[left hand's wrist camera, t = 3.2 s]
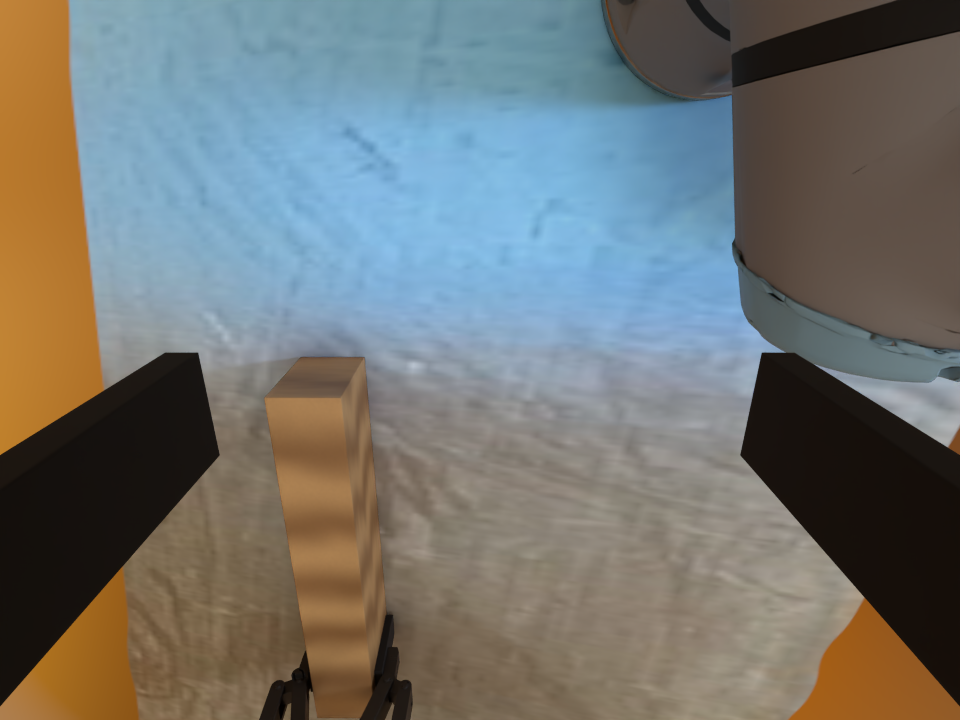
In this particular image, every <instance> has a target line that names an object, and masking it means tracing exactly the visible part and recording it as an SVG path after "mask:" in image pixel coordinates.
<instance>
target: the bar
mask: <svg viewBox="0 0 960 720" xmlns="http://www.w3.org/2000/svg"><path fill="white" fill-rule="evenodd" d="M264 399H265V405H266V411H267V417H268V423H269V429H270V435H271V441H272V447H273V453H274V459H275V465H276V471H277V477H278V483H279V489H280V495H281V501H282V507H283V513H284V519H285V525H286V531H287V537H288V543H289V549H290V555H291V561H292V567H293V573H294V579H295V585H296V591H297V597H298V603H299V609H300V615H301V621H302V627H303V633H304V639H305V645H306V651H307V657H308V663H309V669H310V675H311V681H312V687H313V693H314V699H315V705H316V711H317V717H318V718H361V716H362V714H363V712H364V710H365V708H366V706H367V704H368V702H369V700H370V698H371V696H372V694H373V692H374V690H375V688H376V686H375V677H374V669H375V664H376V659H377V655H378V650H379V645H380V640H381V635H382V631H383V626H384V621H385V616H386V615H387V613H386V601H385V589H384V578H383V566H382V555H381V543H380V532H379V520H378V508H377V497H376V485H375V474H374V462H373V450H372V439H371V427H370V416H369V404H368V393H367V381H366V369H365V358H364V357H301V358H300V359H299V360H298V361H297V362H296V363H295V364H294V365H293V367H292V368H291V369H290V370H289V371H288V372H287V373H286V374H285V375H284V377H283V378H282V379H281V380H280V381H279V382H278V383H277V384H276V385H275V387H274V388H273V389H272V390H271V391H270V392H269V393H268V394H267V395H266V397H265V398H264Z"/></svg>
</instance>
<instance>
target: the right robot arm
mask: <svg viewBox="0 0 960 720" xmlns="http://www.w3.org/2000/svg"><path fill="white" fill-rule="evenodd" d="M393 638H394V624H393V615H386V616H385V621H384V626H383V631H382V635H381V640H380V645H379V650H378V655H377V659H376V664H375V669H374V677H375V686H376V688H375V690H374V692H373V694H372V696H371V698H370V700H369V702H368V704H367V706H366V708H365V710H364V712H363V714H362V716H361V718H360V720H385V718H386V716H387V713H388V711H389V709H390V707H391V705H392V702H393V704H394V710H393V715H392V720H410V717H411V711H412V705H413V701H412V686H411V682H410V681H409V680H403V681H399V680H397V674H398V667H399V651H398V648H397V647H392V644H393ZM309 690H311V692H313V687H312V681H311V675H310V669H309V663H308V657H307V651H305V653H304V656H303V658H302V661H301V664H300V667H299V668H297V669H295V670H294V671H293V672H292V680H290V681H287V682H284V681H282V680H277V681H275V682H274V683H273V684H272V685H271V688H270V691H269V693H268V696H267V699H266V702H265V705H264V708H263V710H262V713H261V716H260V719H259V720H283V718H284V714H285V711H286V708H287V705H288V704H290V703H291V720H309Z"/></svg>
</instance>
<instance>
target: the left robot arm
mask: <svg viewBox="0 0 960 720" xmlns="http://www.w3.org/2000/svg"><path fill="white" fill-rule="evenodd" d="M601 2H602V9H603V14H604V19H605V23H606V26H607V30H608V33H609V35H610V38H611V40H612V43H613V45H614V47H615V48H616V50H617V52H618V54H619V55H620V57H621V58H622V60H623V62H624V63H625V64H626V65H627V67H628V68H629V69H630V70H631V71H632V72H633V73H634V74H635V75H636V76H637V77H638V78H639V79H640V80H642V81H643V82H644V83H645V84H647V85H648V86H650V87H652V88H653V89H655V90H657V91H659V92H661V93H663V94H666V95H669V96H672V97H675V98H680V99H686V100H709V99H716V98H721V97H725V96H729V95H732V114H733V160H734V207H735V239H734V241H733V243H732V253H733V257H734V260H735V263H736V264H737V266H738V274H739V286H740V298H741V306H742V309H743V312H744V315H745V317H746V318H747V320H748V322H749V323H750V324H751V325H752V326H753V327H754V328H755V329H756V330H758V331H759V333H760V334H761V336H762V337H763V338H764V339H765V340H767V341H768V342H769V343H771V344H772V345H774V346H776V347H777V348H779V349H781V350H782V351H784V352H786V353H762V355H761V359H760V364H759V369H758V374H757V378H756V383H755V388H754V393H753V397H752V402H751V407H750V412H749V416H748V421H747V426H746V431H745V435H744V440H743V445H742V450H741V454H740V455H741V456H742V458H743V459H744V460H745V461H746V462H747V463H748V464H749V466H750V467H751V468H752V469H753V470H754V471H755V473H756V474H757V475H758V476H759V477H760V478H761V479H762V481H763V482H764V483H765V484H766V485H767V486H768V487H769V489H770V490H771V491H772V492H773V493H774V494H775V495H776V497H777V498H778V499H779V500H780V501H781V502H782V503H783V505H784V506H785V507H786V508H787V509H788V510H789V511H790V513H791V514H792V515H793V516H794V517H795V518H796V519H797V521H798V522H799V523H800V524H801V525H802V526H803V527H804V529H805V530H806V531H807V532H808V533H809V534H810V535H811V537H812V538H813V539H814V540H815V541H816V542H817V543H818V545H819V546H820V547H821V548H822V549H823V550H824V551H825V553H826V554H827V555H828V556H829V557H830V558H831V559H832V561H833V562H834V563H835V564H836V565H837V566H838V567H839V569H840V570H841V571H842V572H843V573H844V574H845V575H846V577H847V578H848V579H849V580H850V581H851V582H852V583H853V585H854V586H855V587H856V588H857V589H858V590H859V591H860V593H861V594H862V595H863V596H864V597H865V598H866V599H867V601H868V602H869V603H870V604H871V605H872V606H873V608H874V609H875V610H876V611H877V612H878V613H879V614H880V616H881V617H882V618H883V619H884V620H885V621H886V622H887V624H888V625H889V626H890V627H891V628H892V629H893V630H894V632H895V633H896V634H897V635H898V636H899V637H900V638H901V640H902V641H903V642H904V643H905V644H906V645H907V646H908V648H909V649H910V650H911V651H912V652H913V653H914V654H915V656H916V657H917V658H918V659H919V660H920V661H921V662H922V663H923V665H924V666H925V667H926V668H927V669H928V670H929V672H930V673H931V674H932V675H933V676H934V677H935V678H936V680H937V681H938V682H939V683H940V684H941V685H942V686H943V688H944V689H945V690H946V691H947V692H948V693H949V694H950V696H951V697H952V698H953V699H954V700H955V701H956V702H957V704H958V705H959V706H960V455H959V454H957V453H956V452H954V451H952V450H951V449H949V448H948V447H946V446H944V445H943V444H941V443H939V442H938V441H936V440H935V439H933V438H931V437H930V436H928V435H927V434H925V433H923V432H922V431H920V430H919V429H917V428H915V427H914V426H912V425H910V424H909V423H907V422H906V421H904V420H902V419H901V418H899V417H898V416H896V415H894V414H893V413H891V412H890V411H888V410H886V409H885V408H883V407H881V406H880V405H878V404H877V403H875V402H873V401H872V400H870V399H869V398H867V397H865V396H864V395H862V394H861V393H859V392H857V391H856V390H854V389H852V388H851V387H849V386H848V385H846V384H844V383H843V382H841V381H840V380H838V379H836V378H835V377H833V376H832V375H830V374H828V373H827V372H825V371H823V370H822V369H820V368H819V367H817V366H815V365H814V364H816V365H819V366H822V367H825V368H829V369H832V370H836V371H840V372H844V373H848V374H853V375H858V376H863V377H869V378H875V379H882V380H890V381H901V382H922V383H929V382H932V381H933V380H935V378H936V377H937V376H938V377H943V378H946V379H949V380H953V381H957V382H960V0H601ZM812 363H813V364H812ZM219 455H220V454H219V450H218V445H217V440H216V435H215V431H214V426H213V421H212V416H211V412H210V407H209V402H208V397H207V393H206V388H205V383H204V378H203V374H202V369H201V364H200V359H199V355H198V353H164V354H162V355H161V356H159V357H157V358H156V359H154V360H153V361H151V362H149V363H148V364H146V365H145V366H143V367H141V368H140V369H138V370H137V371H135V372H133V373H132V374H130V375H128V376H127V377H125V378H124V379H122V380H120V381H119V382H117V383H116V384H114V385H112V386H111V387H109V388H108V389H106V390H104V391H103V392H101V393H100V394H98V395H96V396H95V397H93V398H92V399H90V400H88V401H87V402H85V403H83V404H82V405H80V406H79V407H77V408H75V409H74V410H72V411H70V412H69V413H67V414H66V415H64V416H62V417H61V418H59V419H58V420H56V421H54V422H53V423H51V424H50V425H48V426H46V427H45V428H43V429H42V430H40V431H38V432H37V433H35V434H33V435H32V436H30V437H29V438H27V439H25V440H24V441H22V442H21V443H19V444H17V445H16V446H14V447H12V448H11V449H9V450H8V451H6V452H4V453H3V454H1V455H0V706H1V705H2V704H3V702H4V701H5V700H6V699H7V698H8V697H9V696H10V694H11V693H12V692H13V691H14V690H15V689H16V688H17V686H18V685H19V684H20V683H21V682H22V681H23V680H24V678H25V677H26V676H27V675H28V674H29V673H30V672H31V670H32V669H33V668H34V667H35V666H36V665H37V664H38V662H39V661H40V660H41V659H42V658H43V657H44V655H45V654H46V653H47V652H48V651H49V650H50V649H51V648H52V646H53V645H54V644H55V643H56V642H57V641H58V640H59V638H60V637H61V636H62V635H63V634H64V633H65V632H66V630H67V629H68V628H69V627H70V626H71V625H72V623H73V622H74V621H75V620H76V619H77V618H78V617H79V615H80V614H81V613H82V612H83V611H84V610H85V609H86V608H87V606H88V605H89V604H90V603H91V602H92V601H93V599H94V598H95V597H96V596H97V595H98V594H99V593H100V591H101V590H102V589H103V588H104V587H105V586H106V585H107V583H108V582H109V581H110V580H111V579H112V578H113V577H114V575H115V574H116V573H117V572H118V571H119V570H120V569H121V567H122V566H123V565H124V564H125V563H126V562H127V561H128V559H129V558H130V557H131V556H132V555H133V554H134V553H135V551H136V550H137V549H138V548H139V547H140V546H141V545H142V543H143V542H144V541H145V540H146V539H147V538H148V537H149V535H150V534H151V533H152V532H153V531H154V530H155V529H156V527H157V526H158V525H159V524H160V523H161V522H162V521H163V519H164V518H165V517H166V516H167V515H168V514H169V513H170V511H171V510H172V509H173V508H174V507H175V506H176V505H177V503H178V502H179V501H180V500H181V499H182V498H183V497H184V495H185V494H186V493H187V492H188V491H189V490H190V489H191V487H192V486H193V485H194V484H195V483H196V482H197V481H198V479H199V478H200V477H201V476H202V475H203V474H204V473H205V471H206V470H207V469H208V468H209V467H210V466H211V464H212V463H213V462H214V461H215V460H216V459H217V458H218V456H219Z"/></svg>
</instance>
